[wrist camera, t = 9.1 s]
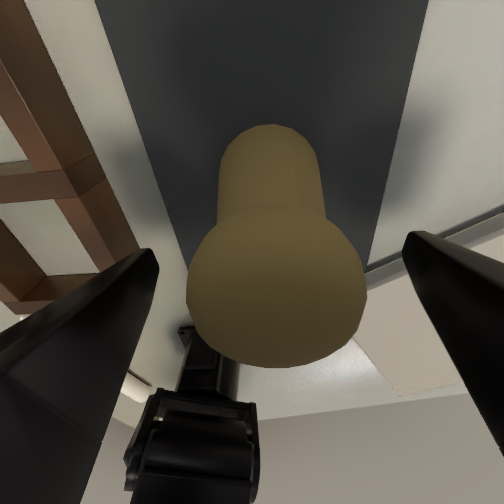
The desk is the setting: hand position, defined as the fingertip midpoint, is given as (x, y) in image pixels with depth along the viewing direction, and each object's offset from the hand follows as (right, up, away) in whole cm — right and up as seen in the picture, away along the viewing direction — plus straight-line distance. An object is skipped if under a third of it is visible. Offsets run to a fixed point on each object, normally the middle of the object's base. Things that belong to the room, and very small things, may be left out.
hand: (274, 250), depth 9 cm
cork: (0, +4, +6) cm, 8 cm away
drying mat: (0, +5, +7) cm, 8 cm away
